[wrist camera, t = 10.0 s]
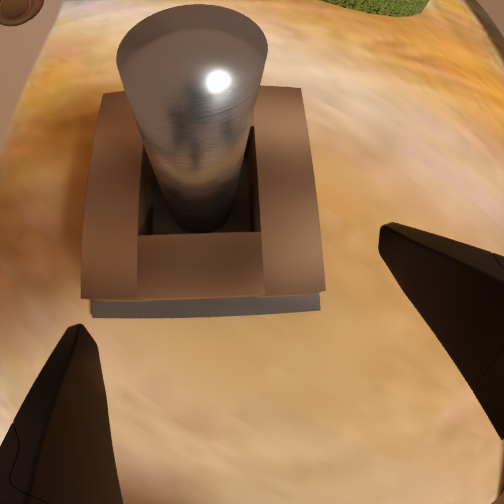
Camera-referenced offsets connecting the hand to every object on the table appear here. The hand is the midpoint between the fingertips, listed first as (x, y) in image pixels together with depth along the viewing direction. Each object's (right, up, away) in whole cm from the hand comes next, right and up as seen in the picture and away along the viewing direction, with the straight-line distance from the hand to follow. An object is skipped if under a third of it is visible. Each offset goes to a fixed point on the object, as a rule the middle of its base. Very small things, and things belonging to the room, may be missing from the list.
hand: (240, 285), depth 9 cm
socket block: (-3, +4, +12) cm, 12 cm away
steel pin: (-3, +4, +11) cm, 12 cm away
